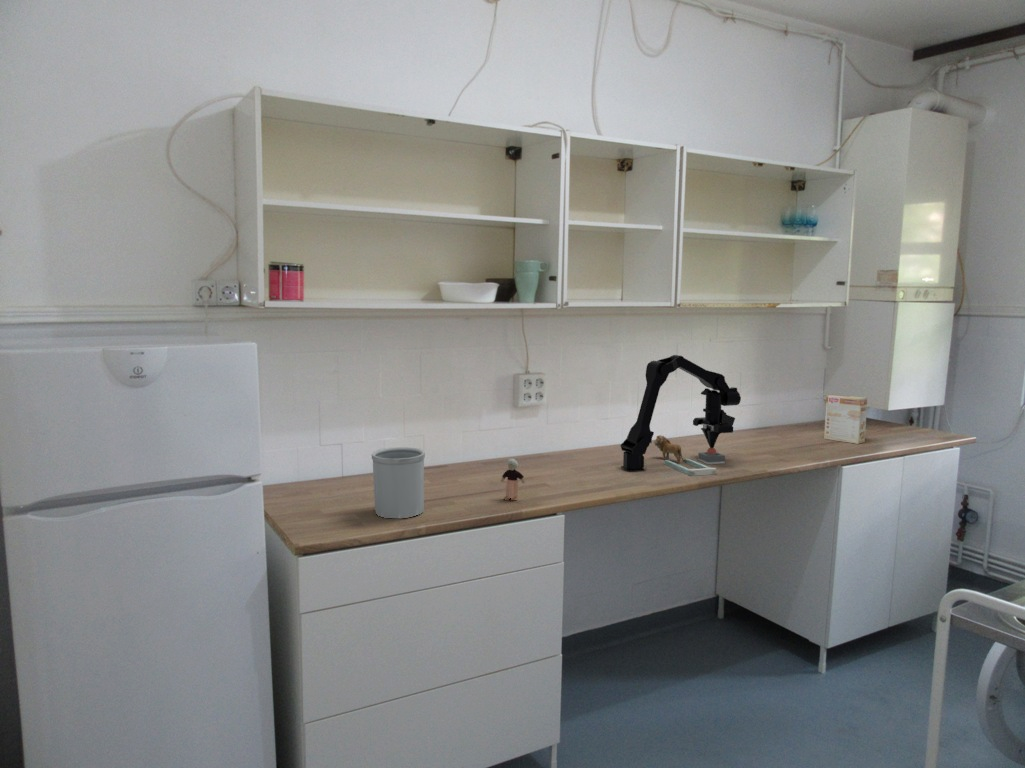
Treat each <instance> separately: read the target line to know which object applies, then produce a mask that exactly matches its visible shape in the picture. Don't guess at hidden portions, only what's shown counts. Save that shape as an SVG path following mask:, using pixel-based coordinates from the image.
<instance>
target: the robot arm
mask: <svg viewBox="0 0 1025 768" xmlns="http://www.w3.org/2000/svg"><path fill="white" fill-rule="evenodd" d="M645 369H646V370H645V380H646V386H645V390H644V392H643V397H642V400H641V404H640V407H639V411H638V414H637V419H636V422H635V423H634V424H633V425H632V426H631V428H630V429H629V432H628V434H627V436H626V438H625V440H624V441H623V442H622V443H621V444H620V450H621V451H622V452H623V461H622V462H623V463H622V464H623V465H622V466H621V467H620V468H621V469H623V470H625V471H627V472H639V471H645V470H646V469H645V468H644V467H645V456H644V455H646V452H647V450H648V447H650V444H652V441H653V440H652V439H653V436H654V431H652V430H651V426H650V425H651V421H652V418H653V414H654V412H655V411H654V410H655V407H656V404H657V400H658V396H659V393H660V389H661V387H662V386H663V385H664V384H665V382H666V381H667V380H668V377H669V374H671V373H673V372H676V370H677V369H679V370H682V372H685V373H687V374H689V375H691V376H693V377H694V378H696V379H697V380H698V381H699V382H700V383H701V384H702V386H705V387H706V388H704V390H702V391H701V392H700V395H702V396H705V408H703V409H702V412H704V414H705V415H704V416H702V417H695V418H694V419H693V420H692V425H693V426H696V427H698V426H700V425H701V426H702V427H701V428H700V430H702V433H703V434H704V436H705V437H704V438H705V439H706V441H707V444H708V445H709V448H715V445H716V443H717V440H718V437H719V435H720V434H731V433H734V423H735V420H736V418H735V416H734V417H733V416H731V415H729V414H727V412H726V411H724V409H722V406H723V407H730V406H738V405H739V404H740V403H741V401H742V400H741V399H742V397H741V394H740V392H739V391H738V387H733V386H732V387H729V385H728V383H727V381H726V378H725V376H724V375H723V374H722V373H718V372H715V371H712V370H707V369H705V368H703V367H701V366H700V365H698V364H696V363H694V362H692V361H691V360H689V359H687V358H685V357H684V356H682V355H678V354H673V355H671V356H669V357H665V358H662V359H657V360H651V361H650V362H648V363H647V364H646V368H645Z"/></svg>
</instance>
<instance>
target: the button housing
mask: <svg viewBox="0 0 1025 768" xmlns="http://www.w3.org/2000/svg"><path fill="white" fill-rule="evenodd" d="M697 454H698V455H697V462H700V463H704V464H707V465H719V464H720V465H721V464H726V463H725V462H726V455H725V454H721V453H719V452H717V451H716V455H707V451H706V452H703V451H702V452H698V453H697Z"/></svg>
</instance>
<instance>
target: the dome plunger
mask: <svg viewBox="0 0 1025 768" xmlns="http://www.w3.org/2000/svg"><path fill="white" fill-rule="evenodd" d="M706 452H707V455H716V452H717V449H716V448H715V447H714V448H710V447H709V448H707V451H706Z"/></svg>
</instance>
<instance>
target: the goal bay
mask: <svg viewBox="0 0 1025 768" xmlns="http://www.w3.org/2000/svg"><path fill="white" fill-rule="evenodd" d="M684 460H685V461H686V462H687V463H685V464H686V465H689V466H691V467H693V468H692V469H690V468H688V467H685V466H684V465H681V464H680V463H679V464H677V462H674V461H672V460H670V459H665V460H663V461H664V462H663V464H664V465H665V466H668V467H670V468H672V469H674V470H676V471H678V472H681V473H683V474H684V475H688V476H690V477H695V476H708V475H711V476H712V475H716V474H717V468H716V467H710V466H708V465H705V464H702V463H701V462H699V461H695V460H693V459H690V458H684Z"/></svg>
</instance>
